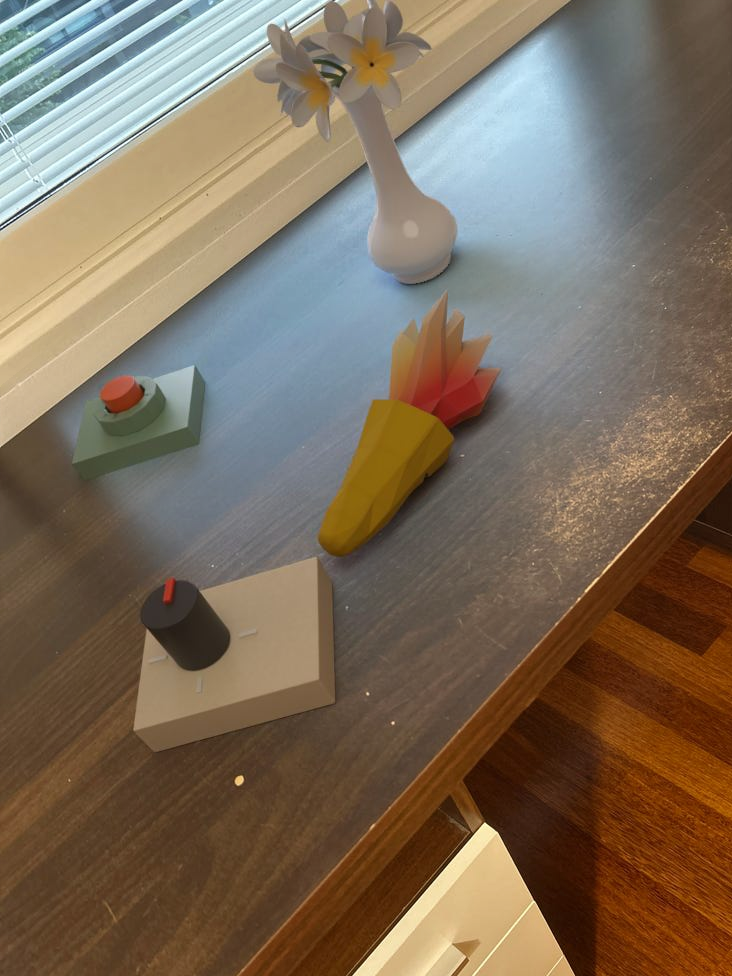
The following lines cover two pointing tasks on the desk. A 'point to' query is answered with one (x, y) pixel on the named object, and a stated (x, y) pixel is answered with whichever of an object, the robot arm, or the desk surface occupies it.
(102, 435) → the button box
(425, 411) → the torch
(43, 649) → the desk surface
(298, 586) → the panel
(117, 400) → the button
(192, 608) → the knob
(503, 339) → the desk surface
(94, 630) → the desk surface
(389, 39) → the flower vase
